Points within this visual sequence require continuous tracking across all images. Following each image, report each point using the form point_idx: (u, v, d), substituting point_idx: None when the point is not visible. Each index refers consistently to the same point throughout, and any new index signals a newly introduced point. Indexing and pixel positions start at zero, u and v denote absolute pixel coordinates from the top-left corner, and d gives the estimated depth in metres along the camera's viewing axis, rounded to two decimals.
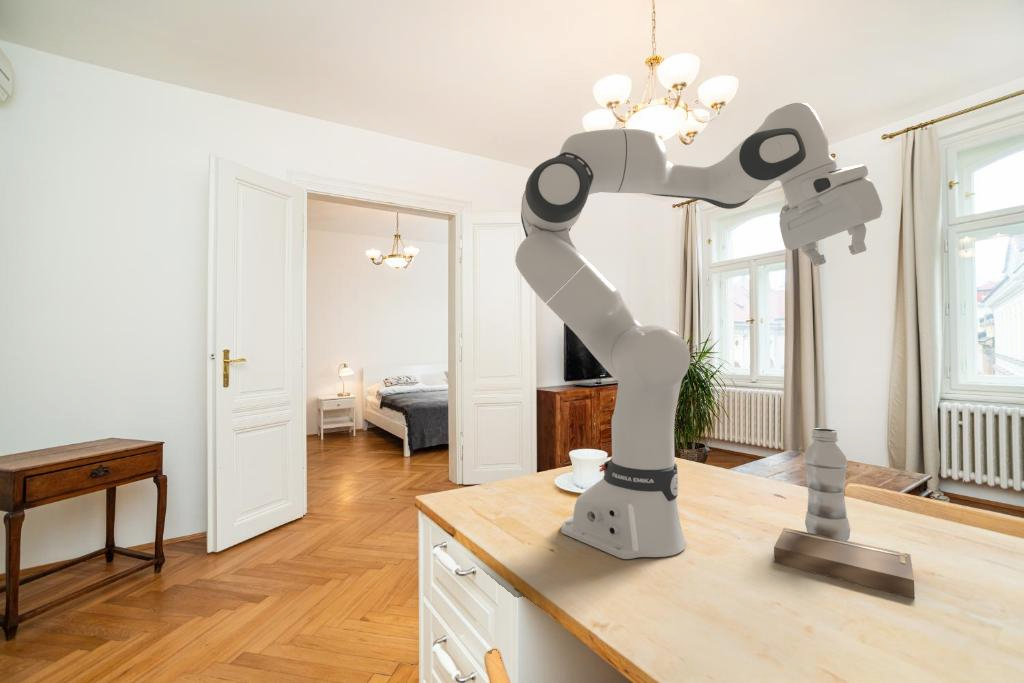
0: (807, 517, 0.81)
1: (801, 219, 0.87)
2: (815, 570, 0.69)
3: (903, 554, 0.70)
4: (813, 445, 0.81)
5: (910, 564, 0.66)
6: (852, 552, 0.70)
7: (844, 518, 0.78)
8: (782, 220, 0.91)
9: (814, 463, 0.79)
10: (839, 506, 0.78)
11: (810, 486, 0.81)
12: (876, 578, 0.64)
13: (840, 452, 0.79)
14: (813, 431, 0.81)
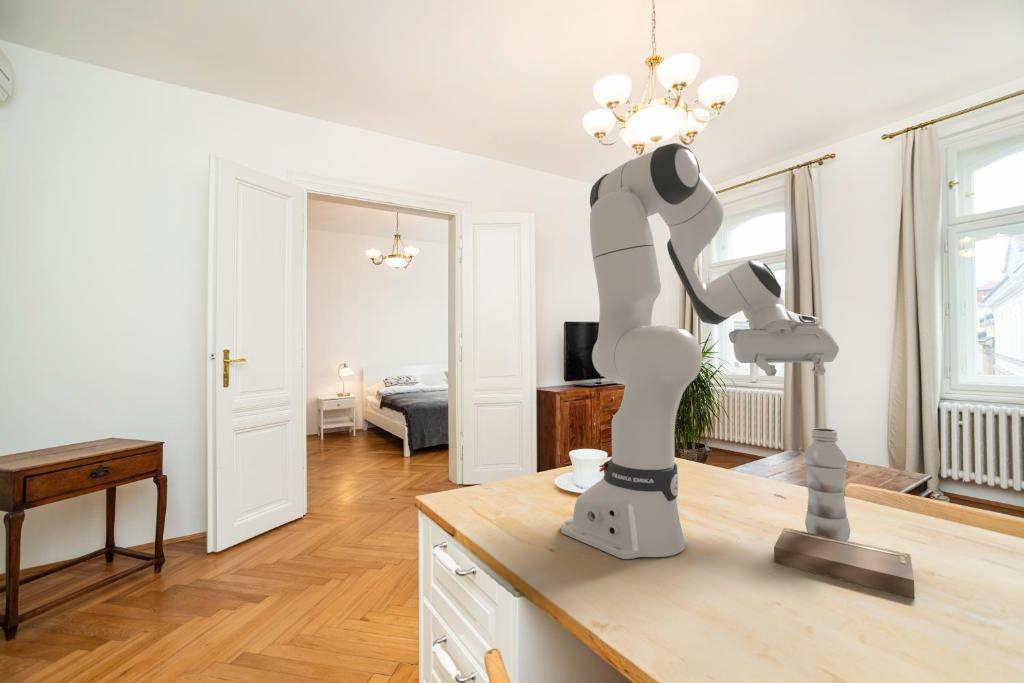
0: (807, 517, 0.81)
1: (766, 337, 1.00)
2: (815, 570, 0.69)
3: (903, 554, 0.70)
4: (813, 445, 0.81)
5: (910, 564, 0.66)
6: (852, 552, 0.70)
7: (844, 518, 0.78)
8: (743, 332, 1.01)
9: (814, 463, 0.79)
10: (839, 506, 0.78)
11: (810, 486, 0.81)
12: (876, 578, 0.64)
13: (840, 452, 0.79)
14: (813, 431, 0.81)
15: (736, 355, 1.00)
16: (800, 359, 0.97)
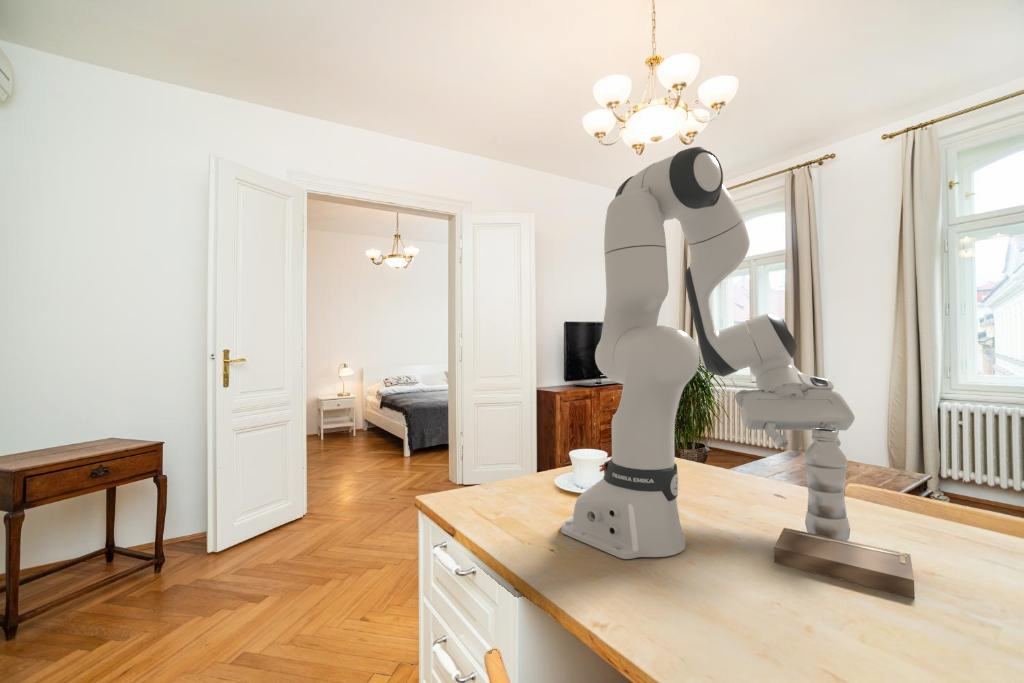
0: (807, 517, 0.81)
1: (775, 401, 0.92)
2: (815, 570, 0.69)
3: (903, 554, 0.70)
4: (813, 445, 0.81)
5: (910, 564, 0.66)
6: (852, 552, 0.70)
7: (844, 518, 0.78)
8: (750, 395, 0.94)
9: (814, 463, 0.79)
10: (839, 506, 0.78)
11: (810, 486, 0.81)
12: (876, 578, 0.64)
13: (840, 452, 0.79)
14: (813, 431, 0.81)
15: (743, 420, 0.92)
16: (812, 427, 0.90)
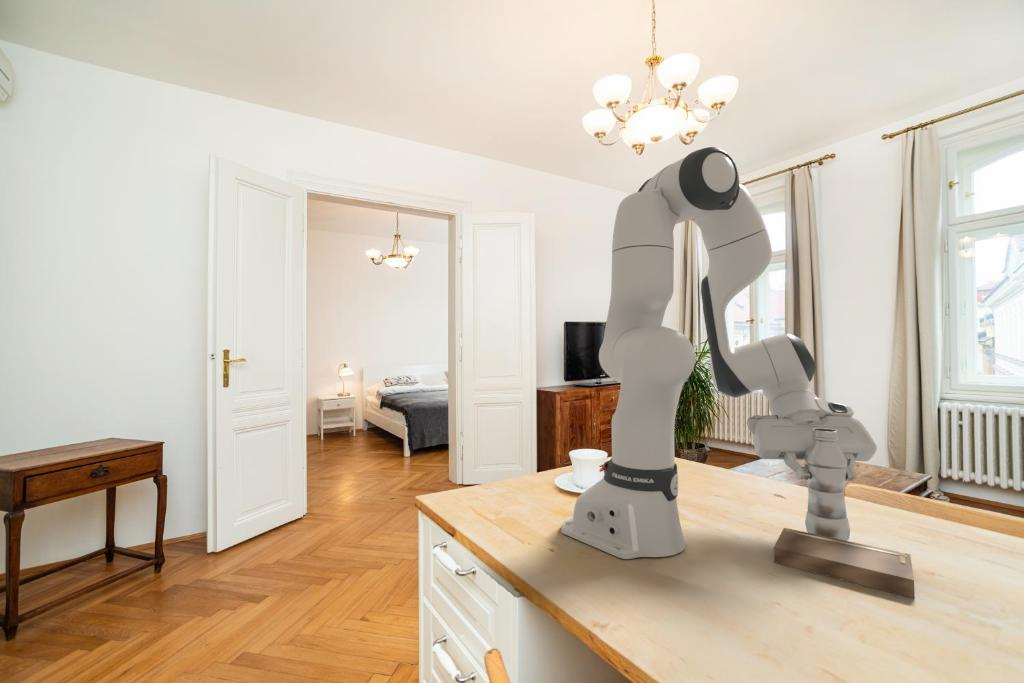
0: (808, 517, 0.81)
1: (790, 429, 0.86)
2: (815, 570, 0.69)
3: (903, 554, 0.70)
4: (813, 445, 0.81)
5: (910, 564, 0.66)
6: (852, 552, 0.70)
7: (844, 518, 0.78)
8: (764, 421, 0.88)
9: (814, 462, 0.79)
10: (839, 506, 0.78)
11: (810, 486, 0.81)
12: (876, 578, 0.64)
13: (840, 452, 0.79)
14: (813, 431, 0.81)
15: (756, 449, 0.86)
16: None
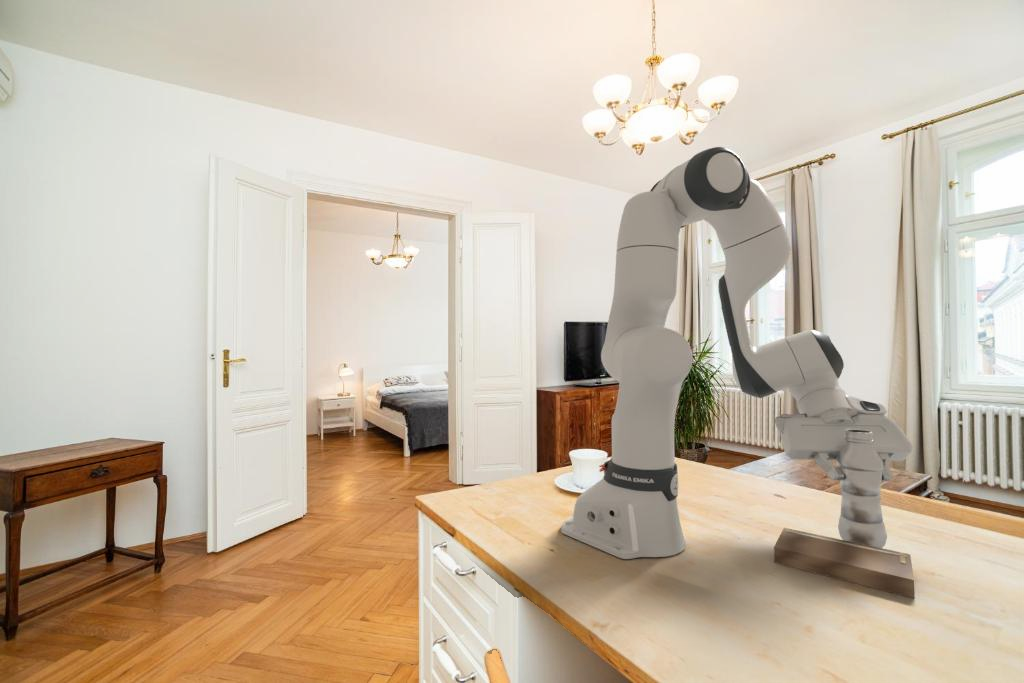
0: (841, 522, 0.78)
1: (821, 428, 0.83)
2: (815, 570, 0.69)
3: (903, 554, 0.70)
4: (847, 447, 0.78)
5: (910, 564, 0.66)
6: (852, 552, 0.70)
7: (880, 523, 0.75)
8: (793, 420, 0.85)
9: (848, 465, 0.76)
10: (875, 510, 0.75)
11: (844, 489, 0.78)
12: (876, 578, 0.64)
13: (876, 454, 0.76)
14: (847, 432, 0.78)
15: (786, 449, 0.83)
16: None
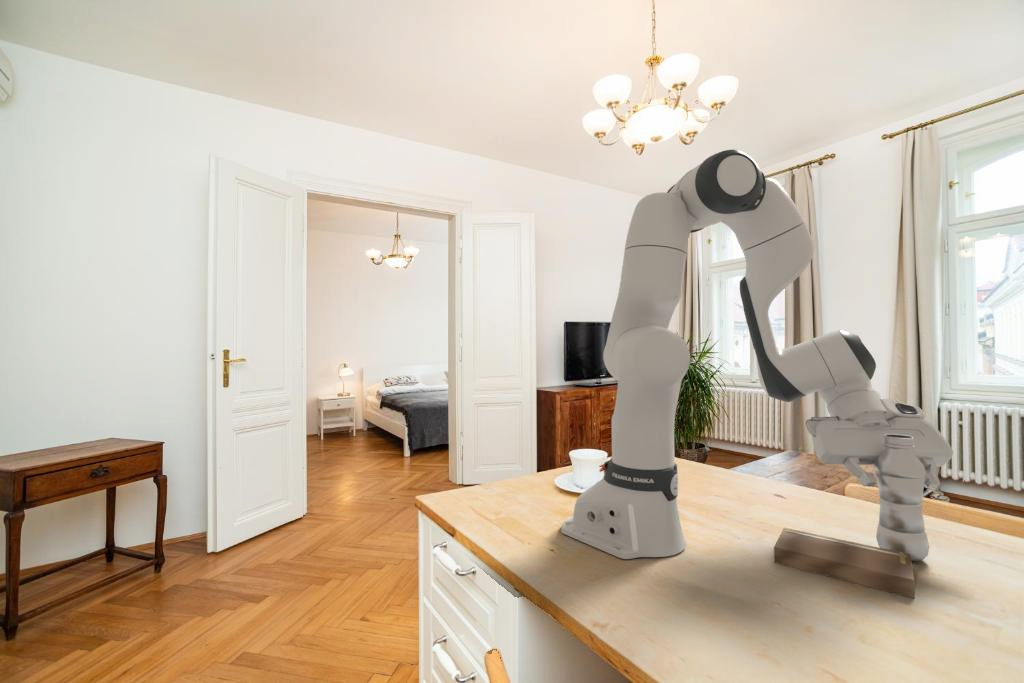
0: (880, 531, 0.75)
1: (855, 431, 0.80)
2: (815, 570, 0.69)
3: (903, 554, 0.70)
4: (886, 453, 0.75)
5: (910, 564, 0.66)
6: (852, 552, 0.70)
7: (923, 532, 0.72)
8: (825, 423, 0.81)
9: (888, 472, 0.73)
10: (917, 519, 0.72)
11: (883, 497, 0.74)
12: (876, 578, 0.64)
13: (918, 460, 0.72)
14: (886, 437, 0.75)
15: (818, 453, 0.80)
16: None
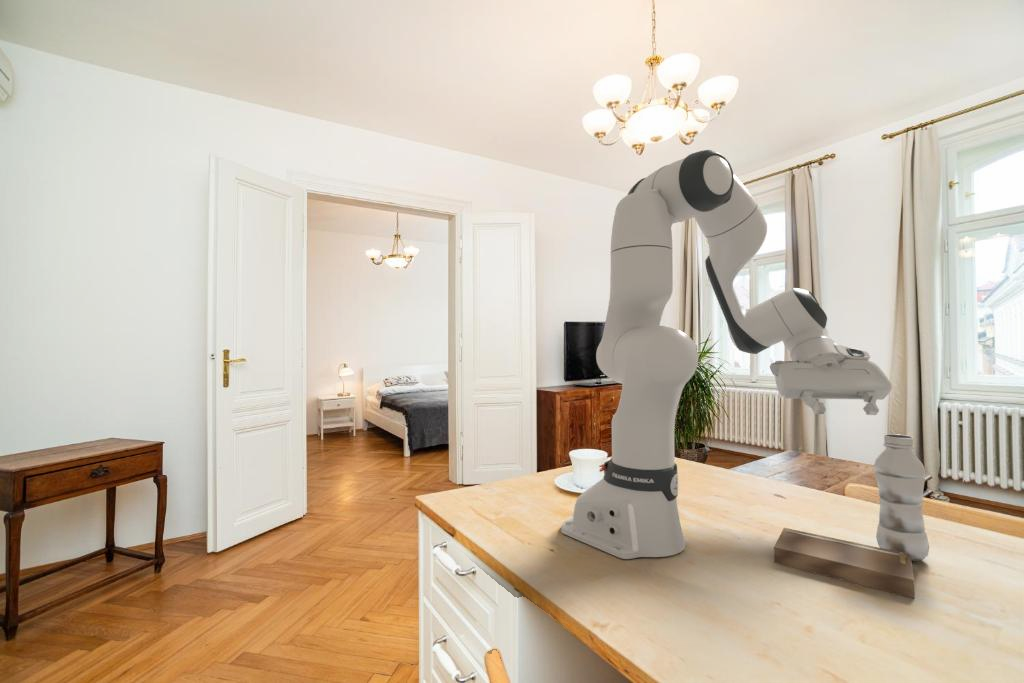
0: (880, 531, 0.75)
1: (811, 371, 0.93)
2: (815, 570, 0.69)
3: (903, 554, 0.70)
4: (886, 453, 0.75)
5: (910, 564, 0.66)
6: (852, 552, 0.70)
7: (923, 532, 0.72)
8: (786, 365, 0.95)
9: (888, 472, 0.73)
10: (917, 519, 0.72)
11: (883, 497, 0.74)
12: (876, 578, 0.64)
13: (918, 460, 0.72)
14: (886, 437, 0.75)
15: (779, 389, 0.93)
16: (849, 396, 0.91)
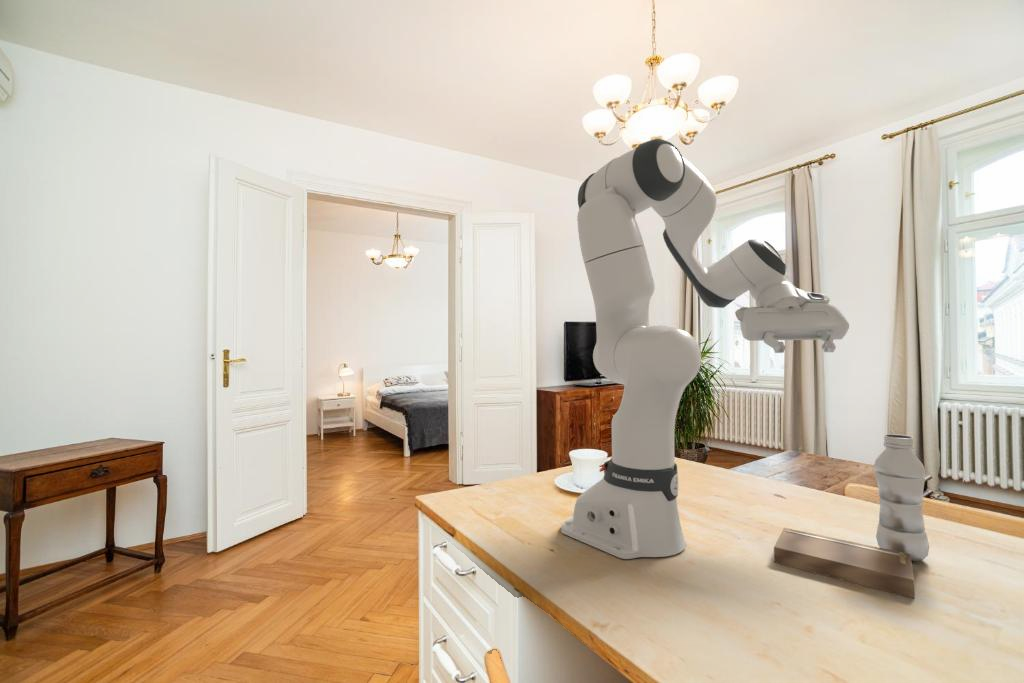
0: (880, 531, 0.75)
1: (774, 314, 0.97)
2: (815, 570, 0.69)
3: (903, 554, 0.70)
4: (886, 453, 0.75)
5: (910, 564, 0.66)
6: (852, 552, 0.70)
7: (923, 532, 0.72)
8: (750, 310, 0.98)
9: (888, 472, 0.73)
10: (917, 519, 0.72)
11: (883, 497, 0.74)
12: (876, 578, 0.64)
13: (918, 460, 0.72)
14: (886, 437, 0.75)
15: (743, 333, 0.97)
16: (809, 336, 0.95)
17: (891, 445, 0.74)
